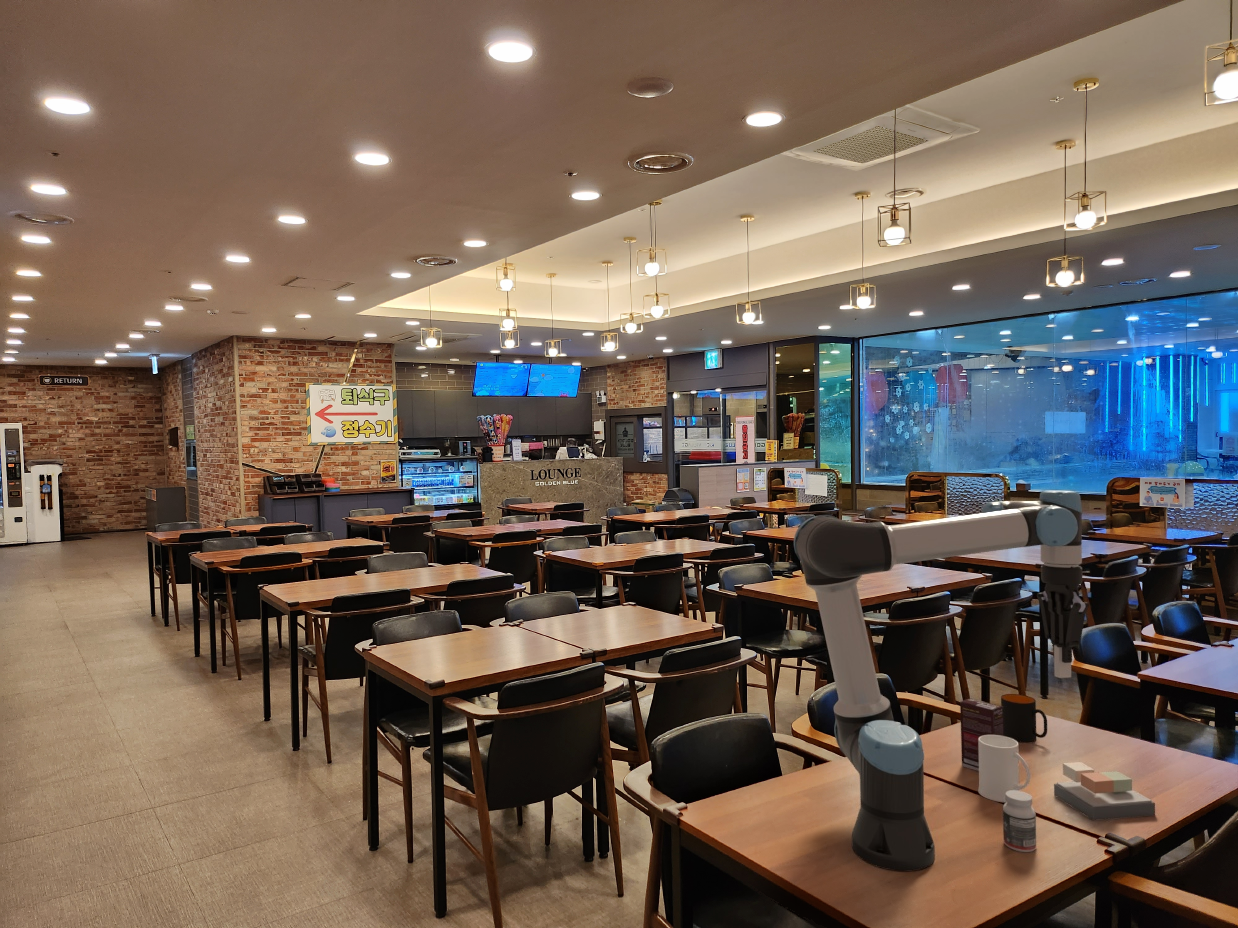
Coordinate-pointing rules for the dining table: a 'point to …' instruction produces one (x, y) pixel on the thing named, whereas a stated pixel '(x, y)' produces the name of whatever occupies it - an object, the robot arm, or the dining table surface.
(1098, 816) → the keypad
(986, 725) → the supplement box
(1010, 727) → the mug
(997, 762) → the mug
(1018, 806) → the pill bottle
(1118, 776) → the sage key
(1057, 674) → the robot arm
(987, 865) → the dining table surface
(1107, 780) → the terracotta key
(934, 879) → the dining table surface
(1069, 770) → the cream key
